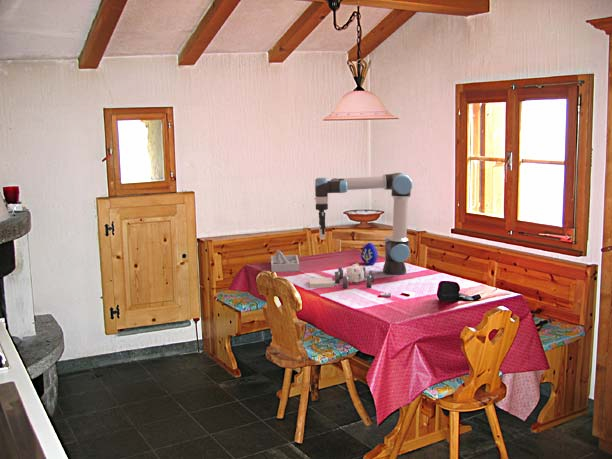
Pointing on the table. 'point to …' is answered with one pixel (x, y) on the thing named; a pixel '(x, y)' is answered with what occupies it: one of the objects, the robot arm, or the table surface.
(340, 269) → the standoff posts
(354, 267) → the mechanical part
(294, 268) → the storage bin
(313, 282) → the parts stand
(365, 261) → the ornament
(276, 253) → the faucet
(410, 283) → the table surface
